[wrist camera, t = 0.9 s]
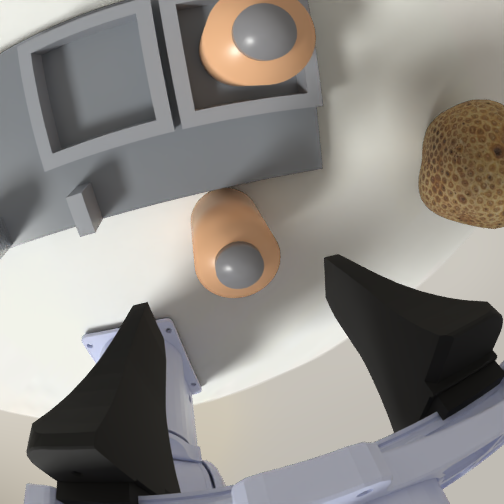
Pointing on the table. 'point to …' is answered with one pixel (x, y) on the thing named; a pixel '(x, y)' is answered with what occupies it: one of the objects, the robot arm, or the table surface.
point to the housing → (137, 119)
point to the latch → (4, 239)
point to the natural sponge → (465, 164)
